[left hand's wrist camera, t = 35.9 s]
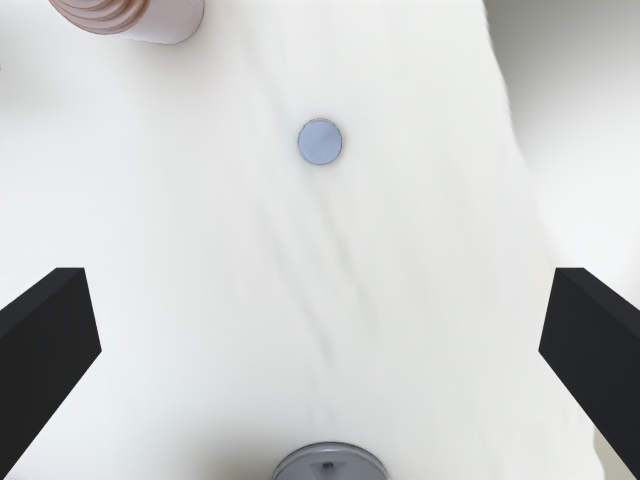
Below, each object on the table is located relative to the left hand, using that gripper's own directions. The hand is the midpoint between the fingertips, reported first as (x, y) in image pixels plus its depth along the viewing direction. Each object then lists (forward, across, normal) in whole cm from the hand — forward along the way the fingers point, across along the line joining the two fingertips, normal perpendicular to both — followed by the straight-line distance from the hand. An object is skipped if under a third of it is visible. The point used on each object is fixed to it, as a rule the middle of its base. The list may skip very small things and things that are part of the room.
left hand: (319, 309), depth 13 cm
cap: (+29, 0, 0) cm, 30 cm away
